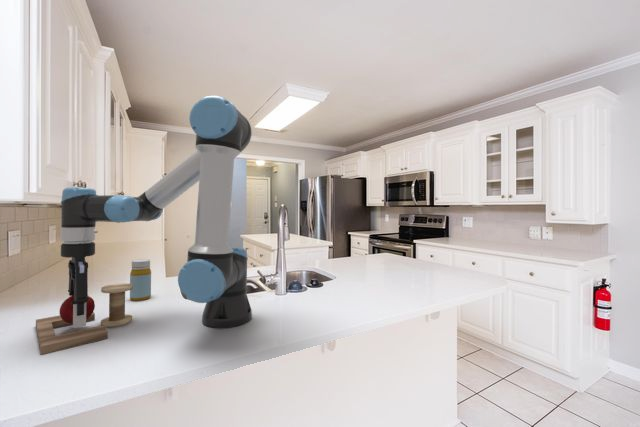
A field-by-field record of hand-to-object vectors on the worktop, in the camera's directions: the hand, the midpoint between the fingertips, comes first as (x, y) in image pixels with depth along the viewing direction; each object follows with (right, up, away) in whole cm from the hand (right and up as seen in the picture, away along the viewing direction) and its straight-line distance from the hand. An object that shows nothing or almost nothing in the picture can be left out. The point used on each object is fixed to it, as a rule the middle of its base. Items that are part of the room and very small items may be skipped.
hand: (77, 322), depth 83 cm
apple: (0, 0, 0) cm, 0 cm away
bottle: (-1, -3, +31) cm, 31 cm away
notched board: (-1, -2, -1) cm, 3 cm away
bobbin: (+7, -3, +7) cm, 10 cm away
